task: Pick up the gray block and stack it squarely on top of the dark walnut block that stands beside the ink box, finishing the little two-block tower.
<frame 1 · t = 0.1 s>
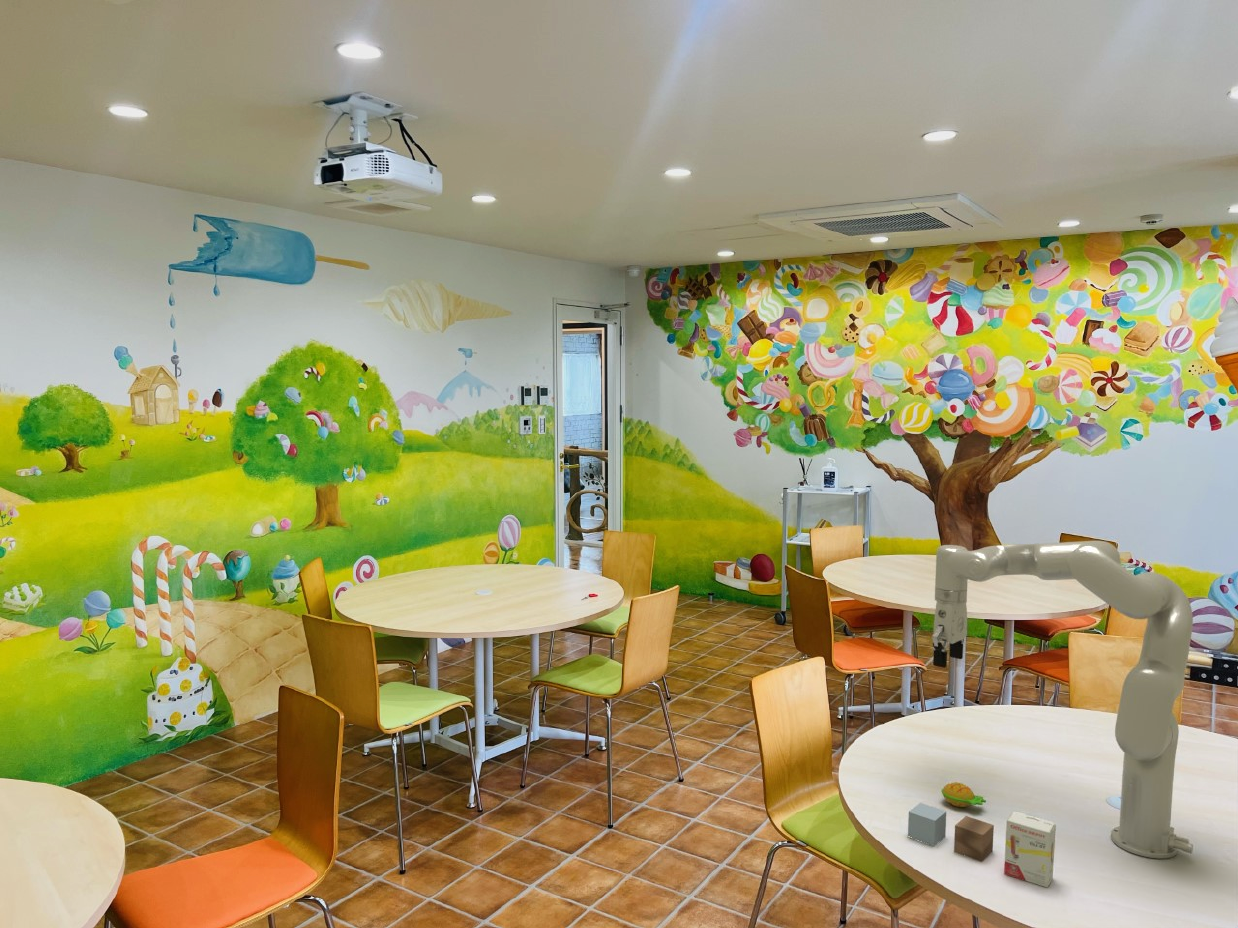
hand: (948, 661, 224), 31 cm above the table, tool pointing down, fingers open, 9 cm apart
toy pineapple: (962, 807, 213), on the table
gray block: (926, 837, 199), on the table
ink box: (1027, 876, 183), on the table
walnut block: (973, 851, 193), on the table
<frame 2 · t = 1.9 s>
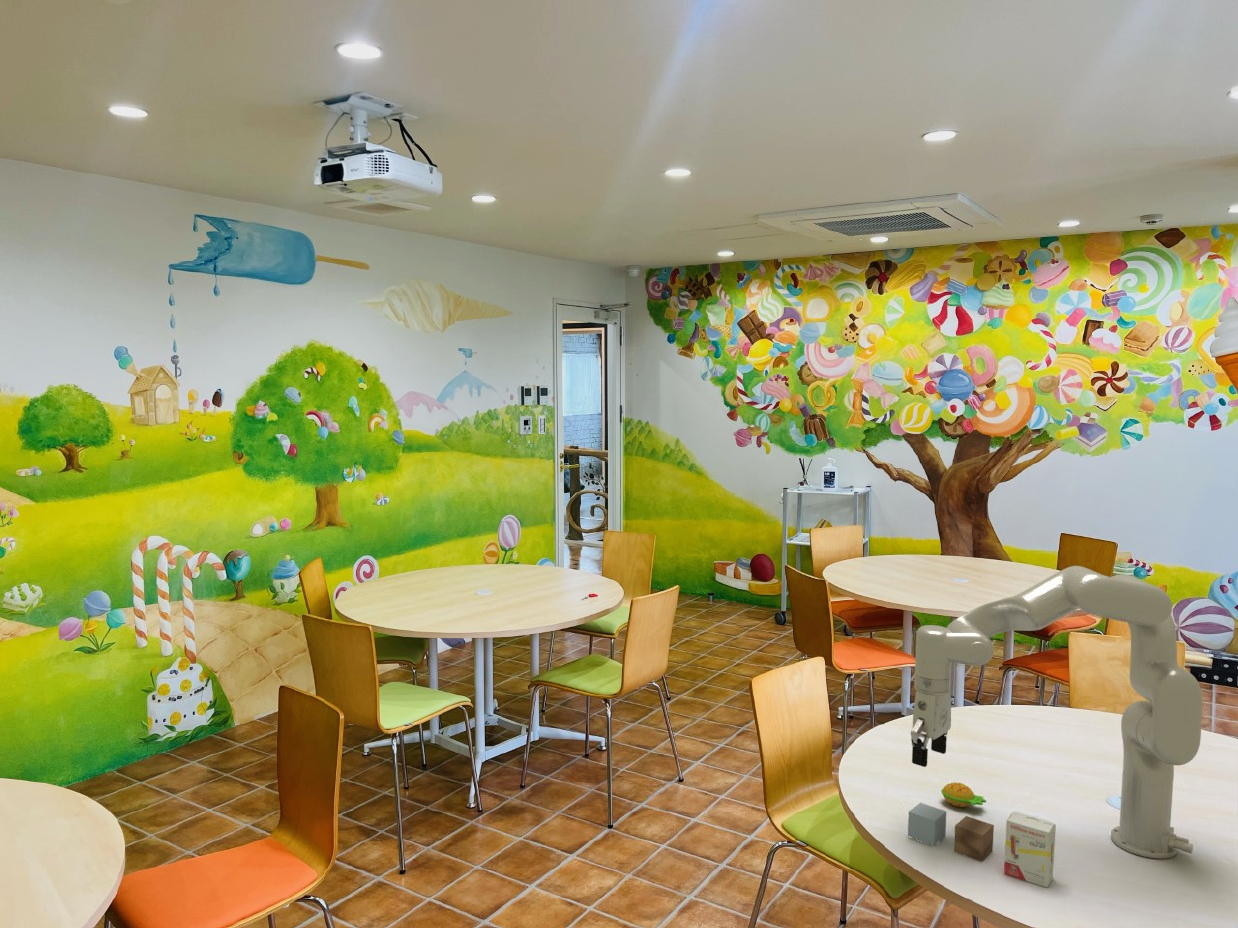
hand: (929, 758, 197), 18 cm above the table, tool pointing down, fingers open, 9 cm apart
nothing on the table moved.
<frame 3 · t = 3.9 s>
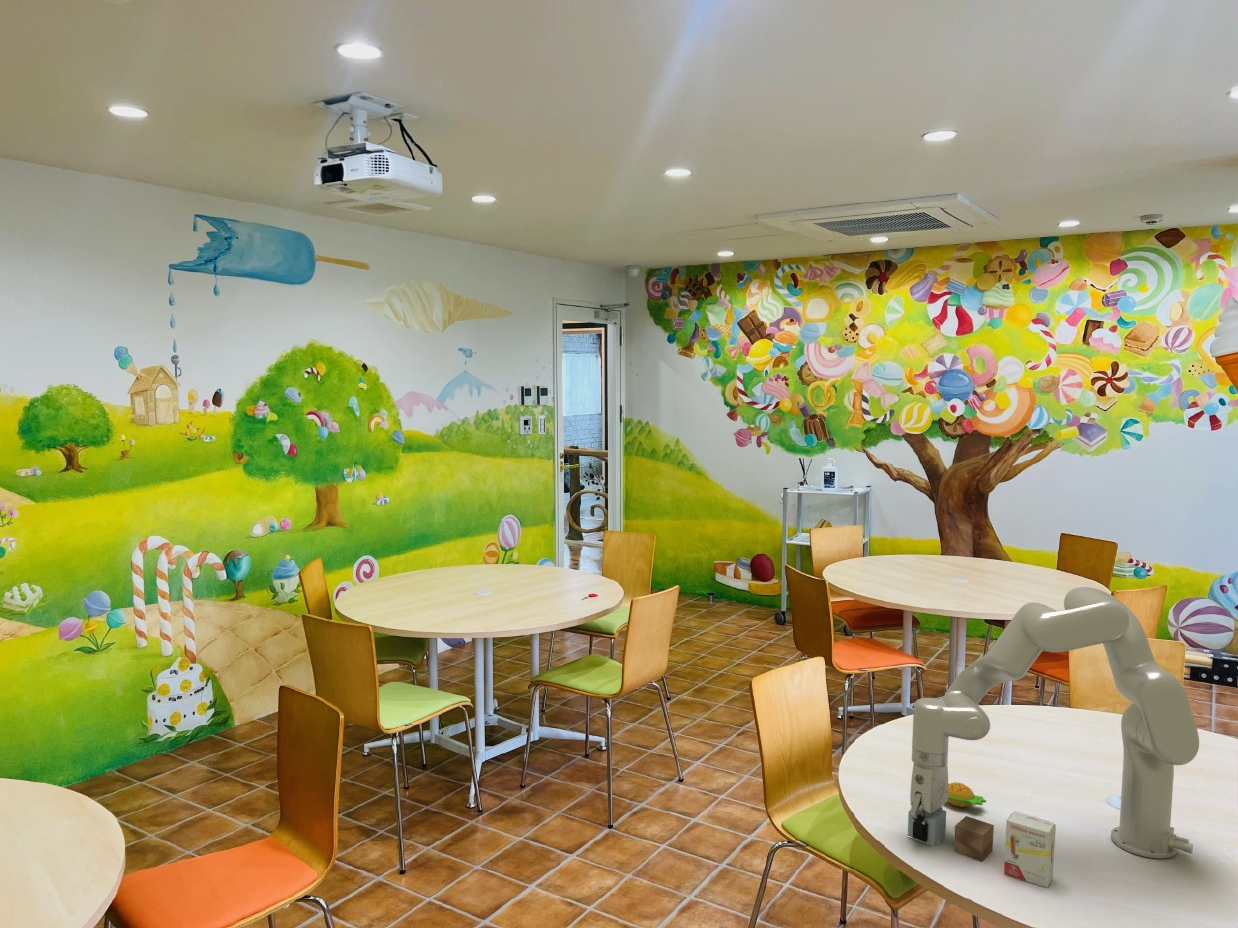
hand: (926, 832, 199), 1 cm above the table, tool pointing down, fingers closed on gray block, 6 cm apart
gray block: (926, 836, 199), on the table, touching gripper
everything else where it was.
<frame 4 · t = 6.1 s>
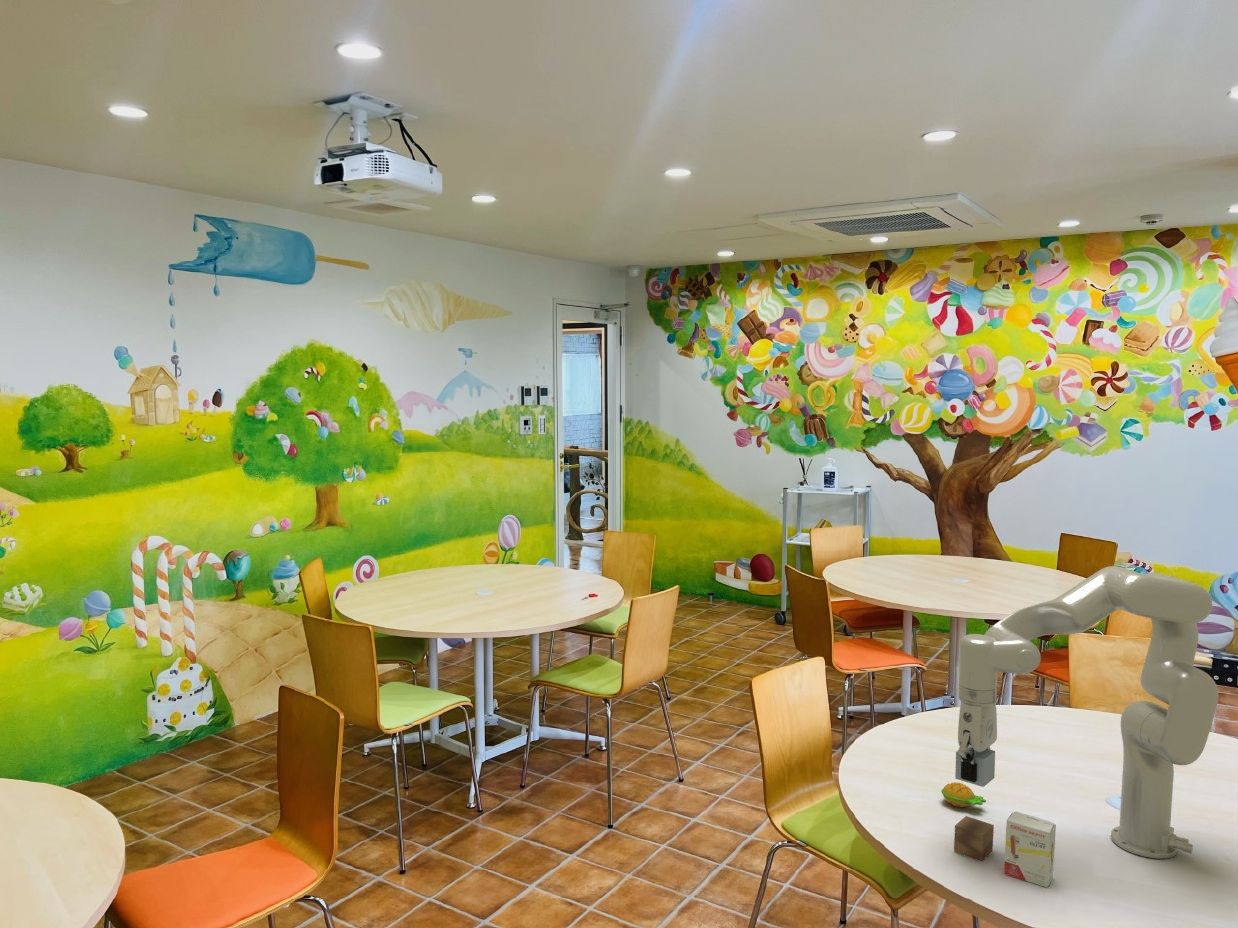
hand: (975, 774, 191), 17 cm above the table, tool pointing down, fingers closed on gray block, 6 cm apart
gray block: (974, 778, 192), point 16 cm above the table, touching gripper
everything else where it was.
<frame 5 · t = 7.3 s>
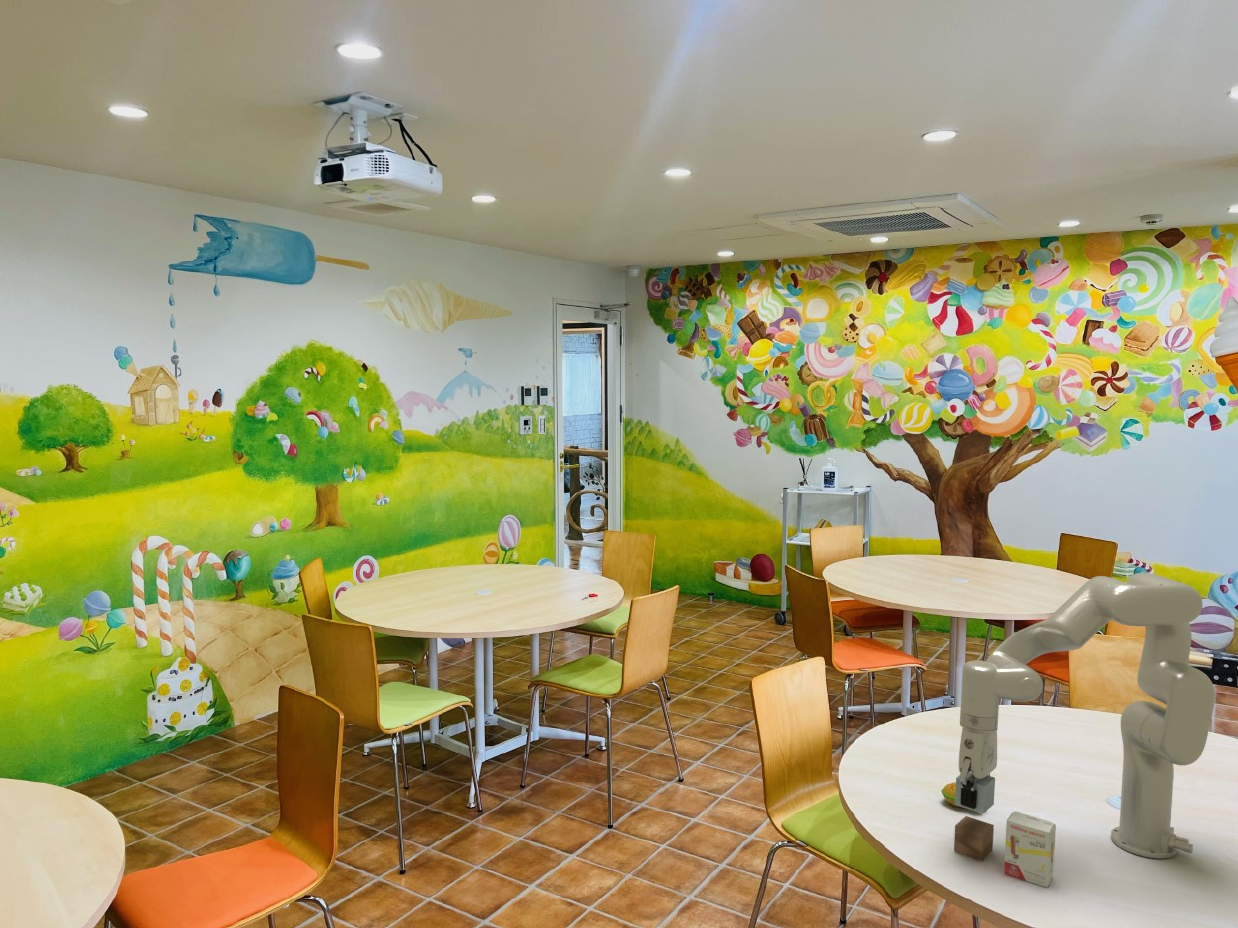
hand: (974, 800, 192), 11 cm above the table, tool pointing down, fingers closed on gray block, 6 cm apart
gray block: (974, 804, 192), point 10 cm above the table, touching gripper
everything else where it was.
when the fingers open (8 cm above the table, at t = 8.4 s): gray block drops 1 cm, resting on walnut block.
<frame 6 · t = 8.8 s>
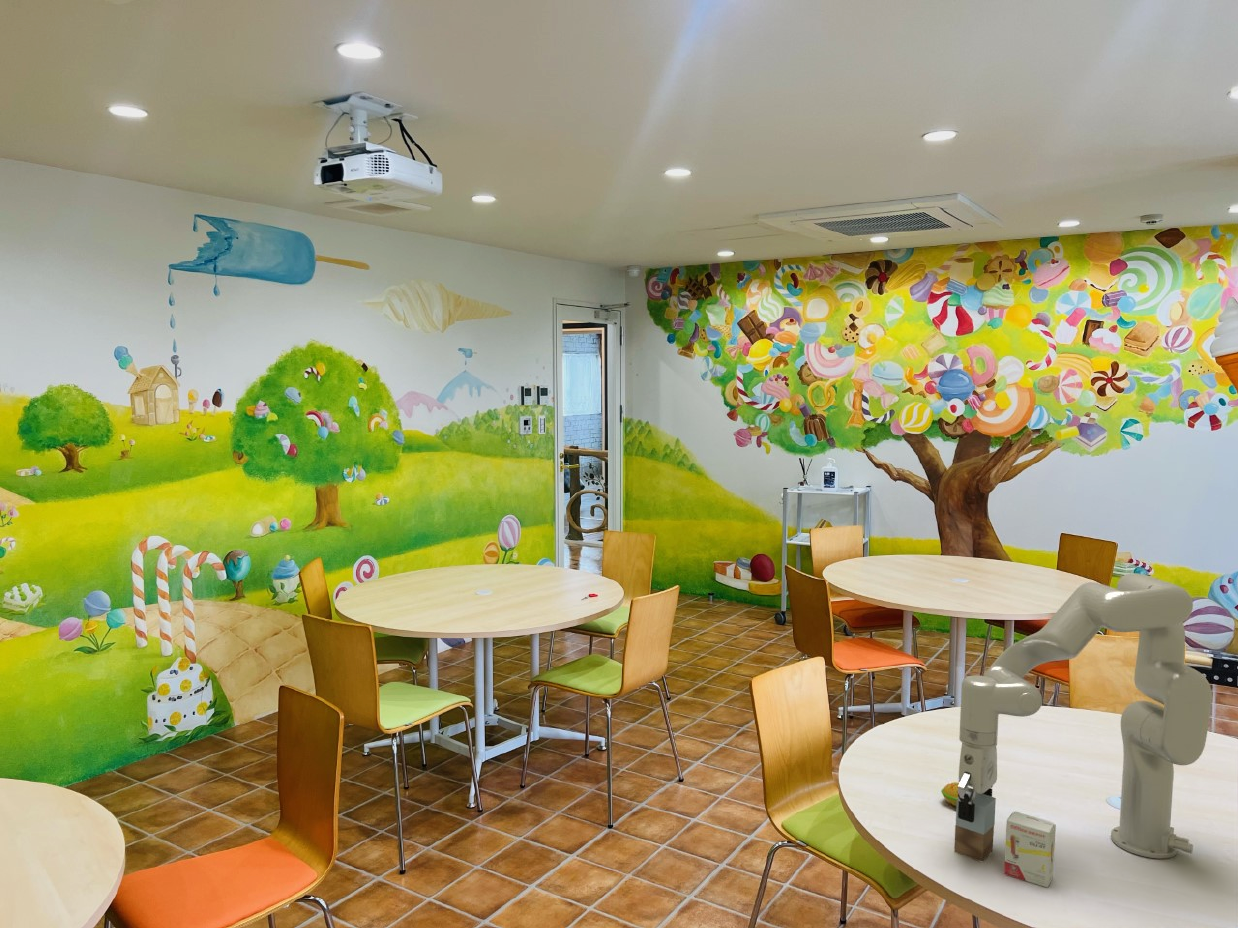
hand: (975, 811, 192), 9 cm above the table, tool pointing down, fingers open, 9 cm apart
gray block: (975, 824, 192), point 6 cm above the table, touching walnut block
walnut block: (973, 851, 192), on the table, touching gray block
everything else where it was.
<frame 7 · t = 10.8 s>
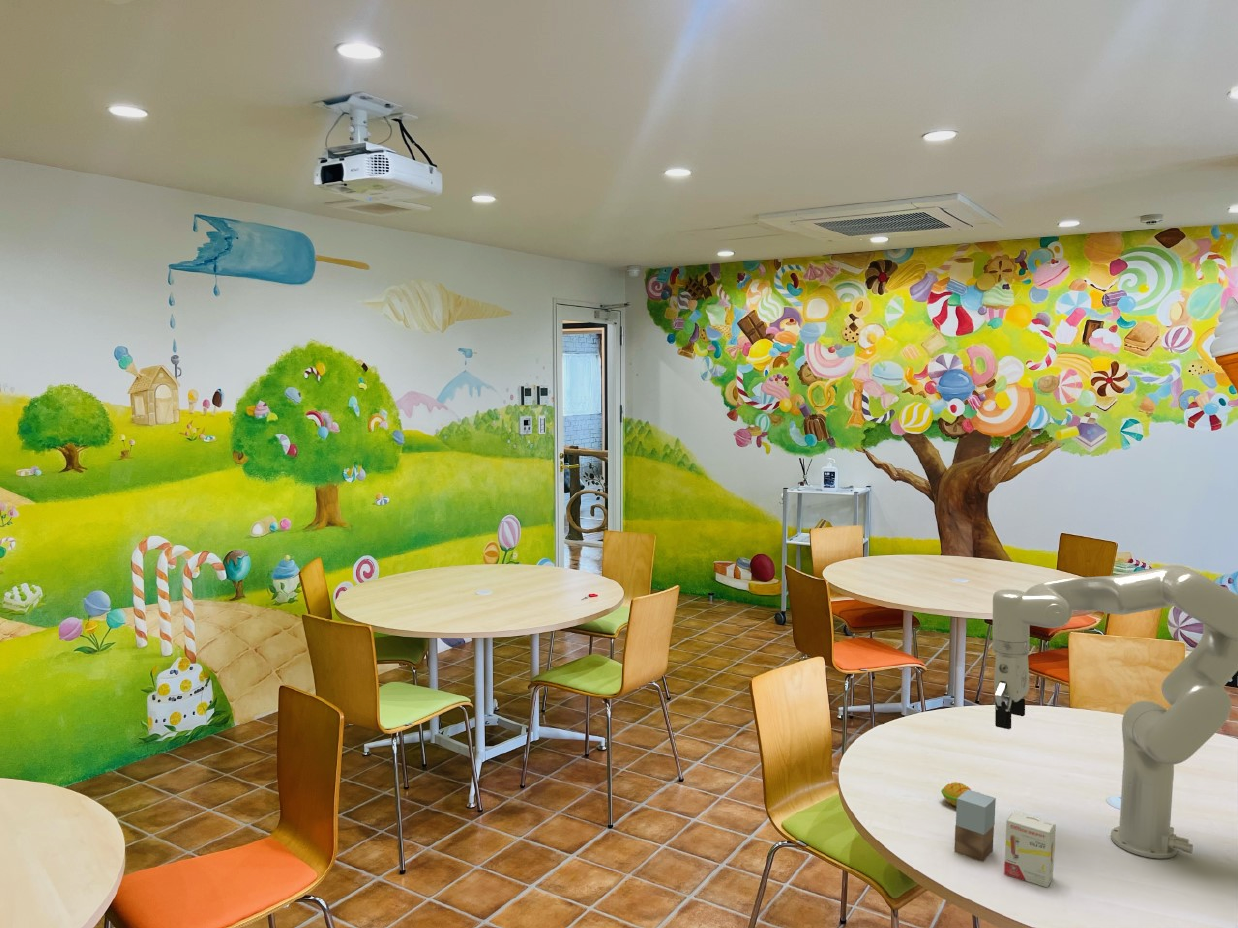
hand: (1010, 721, 199), 26 cm above the table, tool pointing down, fingers open, 9 cm apart
nothing on the table moved.
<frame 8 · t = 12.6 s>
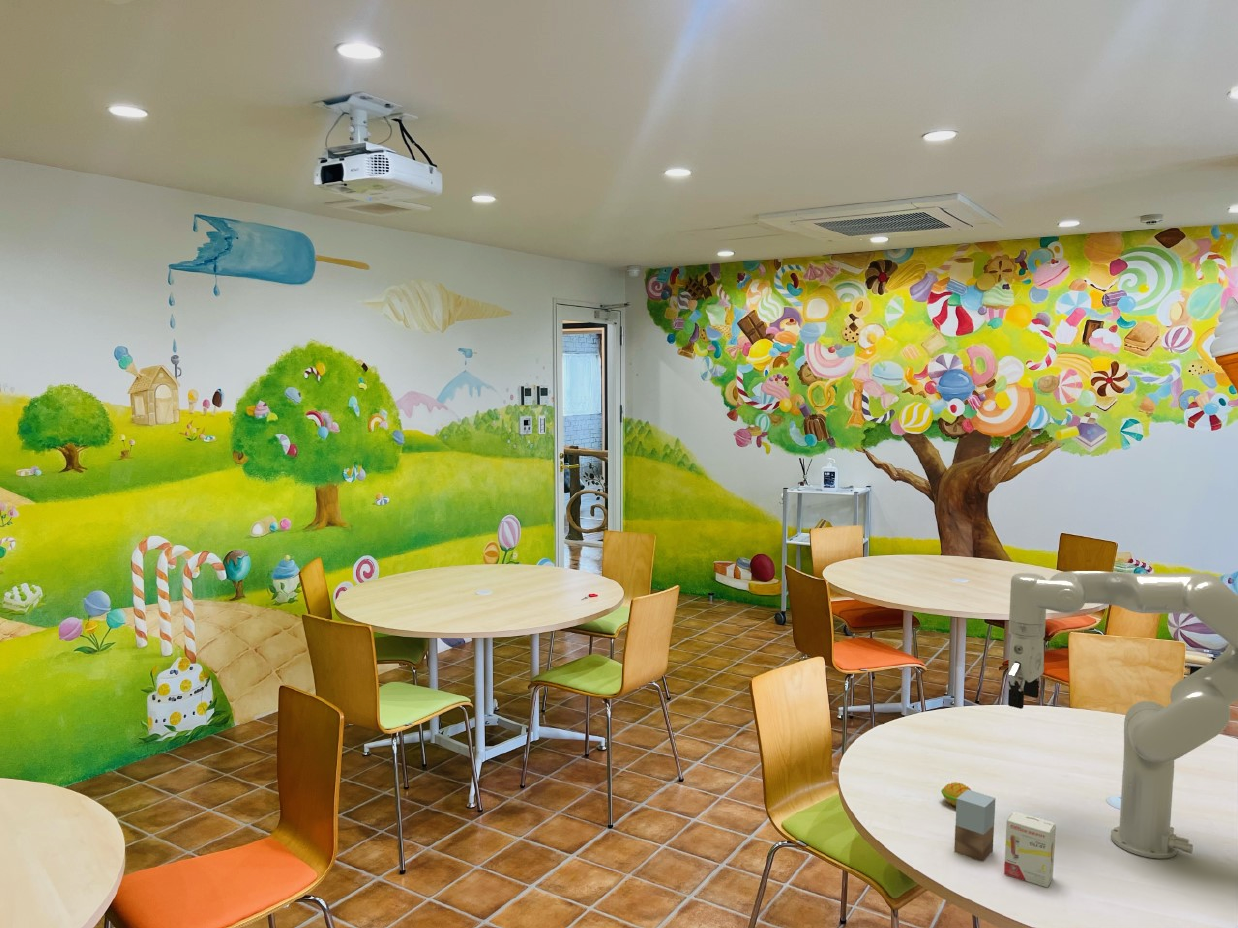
hand: (1023, 701, 204), 28 cm above the table, tool pointing down, fingers open, 9 cm apart
nothing on the table moved.
at the end: gray block 0.0 cm off-centre on the walnut block, point 6.0 cm above the walnut block's base; gray block tilted 0°; walnut block moved 0.1 cm from its start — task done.
